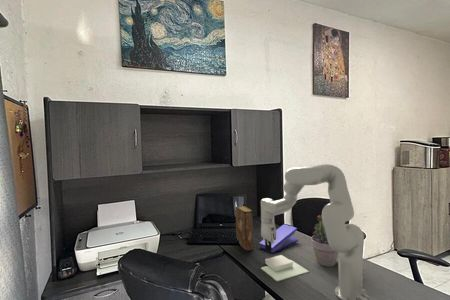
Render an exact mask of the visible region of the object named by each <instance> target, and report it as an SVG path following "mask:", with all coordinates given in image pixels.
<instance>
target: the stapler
mask: <svg viewBox="0 0 450 300" xmlns="http://www.w3.org/2000/svg"><path fill="white" fill-rule="evenodd" d="M297 230H298V228H297V227H295V226H291V225H287V224H282V225H281V226H280V227H278V228H276V240H274V244H271V251H269V253H272V254H274V253H277V252H278V251H280V250H282V249H284V248H286V247H288V246H290V245H292V244H294V243H295V242H298V241H299V239H298V238H296V237H292V236H293V235H295V234H296V231H297ZM258 245H259V246H260V249H262V250H264V251H265V242H264V239H262V240H261V241H260V242H258Z"/></svg>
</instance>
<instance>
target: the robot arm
mask: <svg viewBox="0 0 450 300" xmlns="http://www.w3.org/2000/svg"><path fill="white" fill-rule="evenodd" d="M284 180H285V183H284V184H283V187H282V189H283V191H284V192H285V193H286V194H285V195H284V196H283V198H281V199H277V200H274V199H272V198H269V197H265V198H262V199H261V200H260V222H261V224H260V236H261V237H262V240H264V242H265V250H264V251H265V252H266V253H267V252H269V251H271V244H274V240H276V230H277V228H276V223H275V216H277V215H281V214H285V213H287V212H289V211H290V210H292V208H293V207H294V205H295V204H297V201H298V195H299V193H301V191H302V190H303V189H304V187H305V186H317V185H321V184H325V183H327V184H328V185H327V195H328V197H329V203H327V204H325V205H324V207H323V208H322V211H321V217H322V220H323V224H324V228H325V233H326V236H327V240H328V243H329V245H330V247H331V248H332V249H333V250H334V251H336V252H338V255H337V264H338V265H337V268H338V269H337V271H338V275H337V276H338V277H337V278H338V286H336V287H335V289H334V294H335V296H336V297H337V298H338V299H340V300H370V299H371V297H370V296H368V294H366V289H364V288H363V249H364V244H365V243H364V242H365V238H364V237H365V235H364V232H363V230H362V229H361V228H360V227H359V226H358V225H356V224H354V223H347V222H349V221H351V220H352V219H353V218H354V217H355V211H354V206H353V203H352V199H351V195H350V191H349V189H348V184H347V180H346V176H345V174H344V173H343V171H342V170H341V169H340V167H338V166H337V165H333V164H325V163H323V164H317V165H313V166H304V165H303V166H296V167H290V168H288V169H287V170H286V171H285V173H284ZM269 253H270V252H269Z"/></svg>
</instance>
